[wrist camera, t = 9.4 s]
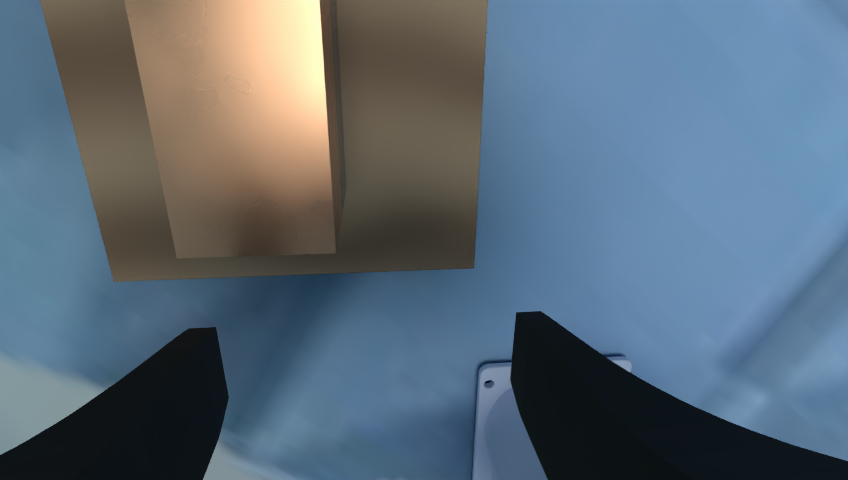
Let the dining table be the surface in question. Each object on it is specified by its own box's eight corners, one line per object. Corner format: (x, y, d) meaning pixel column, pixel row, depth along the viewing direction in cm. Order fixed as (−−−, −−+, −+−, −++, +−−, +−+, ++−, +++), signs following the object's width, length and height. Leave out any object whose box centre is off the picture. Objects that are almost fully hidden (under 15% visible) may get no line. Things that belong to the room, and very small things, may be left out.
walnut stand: (463, 244, 23) (474, 268, 20) (141, 254, 21) (114, 281, 19) (480, -162, 17) (497, -193, 15) (39, -183, 16) (-18, -220, 13)
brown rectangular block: (346, 187, 18) (336, 253, 13) (235, 189, 18) (176, 258, 13) (332, -61, 15) (311, -113, 10) (199, -65, 15) (99, -121, 10)
